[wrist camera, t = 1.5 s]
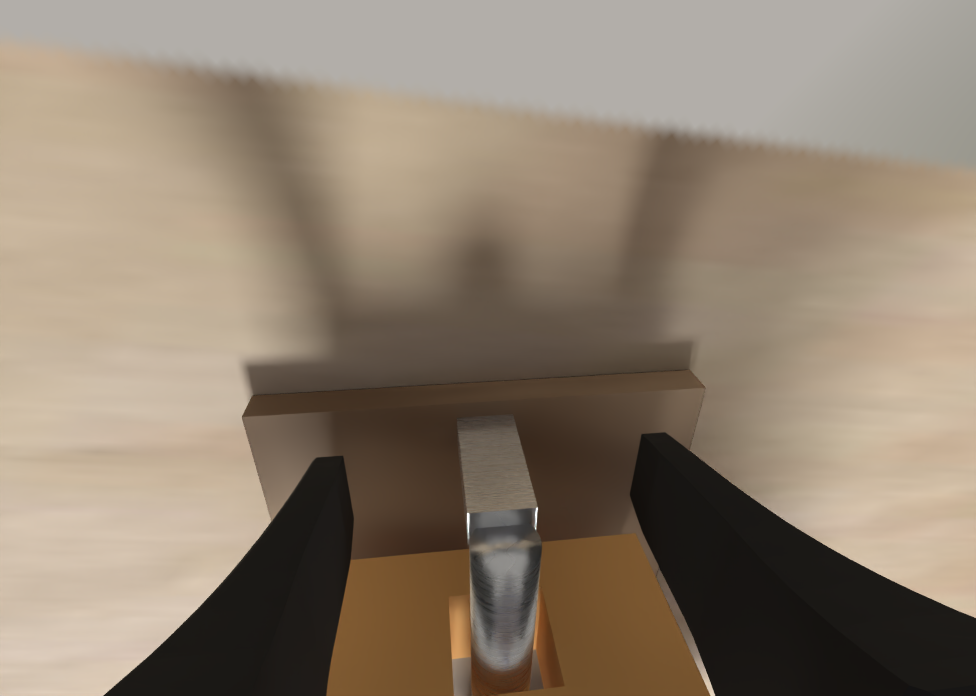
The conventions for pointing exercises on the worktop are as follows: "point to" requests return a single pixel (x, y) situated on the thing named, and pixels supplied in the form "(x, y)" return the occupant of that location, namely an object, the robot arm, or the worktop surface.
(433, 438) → the walnut board
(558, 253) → the worktop surface
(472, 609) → the metal rod
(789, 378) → the worktop surface
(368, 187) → the worktop surface
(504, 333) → the worktop surface
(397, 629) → the collar
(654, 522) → the robot arm
